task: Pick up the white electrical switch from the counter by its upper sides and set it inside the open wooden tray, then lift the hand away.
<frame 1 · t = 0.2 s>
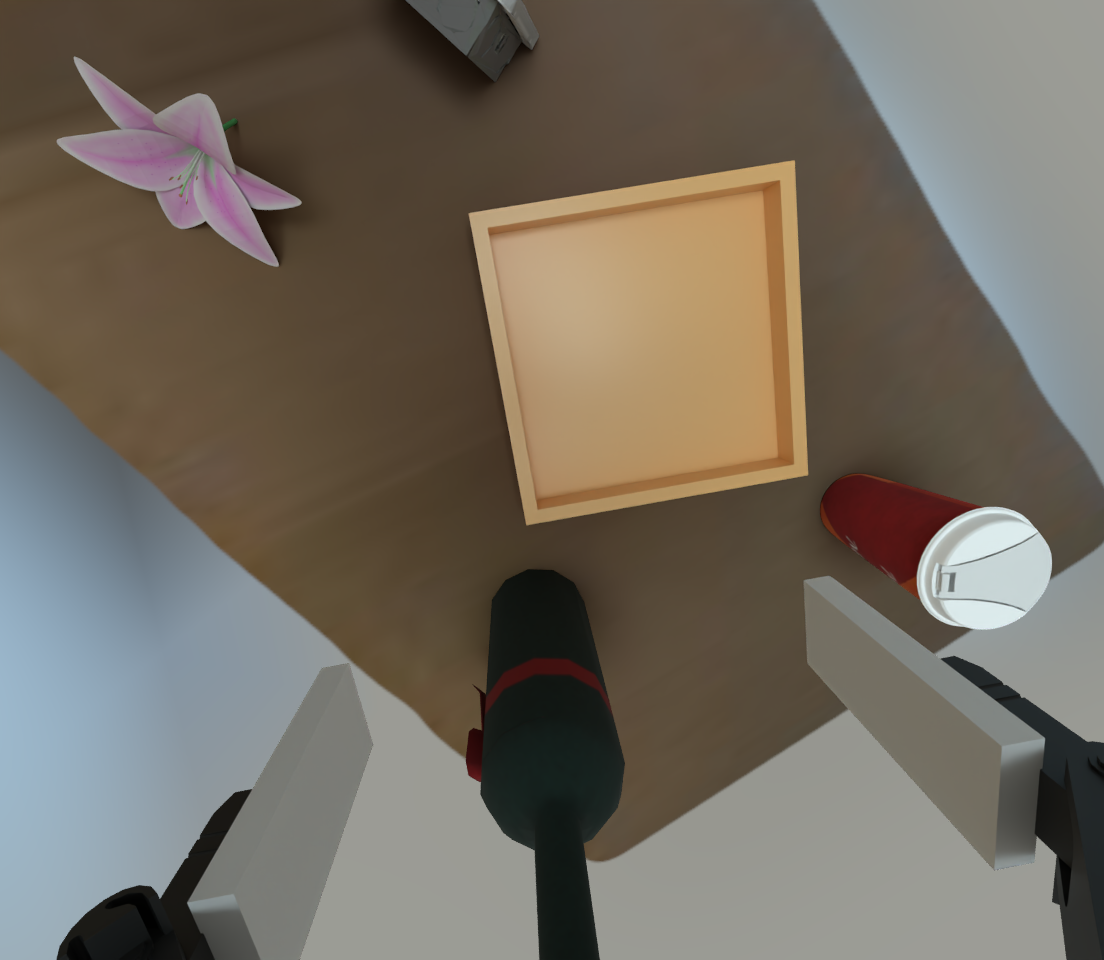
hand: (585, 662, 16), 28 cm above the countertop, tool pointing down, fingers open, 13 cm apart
lily: (229, 190, 37), on the countertop
paper cup: (851, 505, 45), on the countertop
wine bottle: (527, 619, 46), on the countertop
electrical switch: (460, 28, 35), on the countertop
wooden tray: (640, 353, 41), on the countertop
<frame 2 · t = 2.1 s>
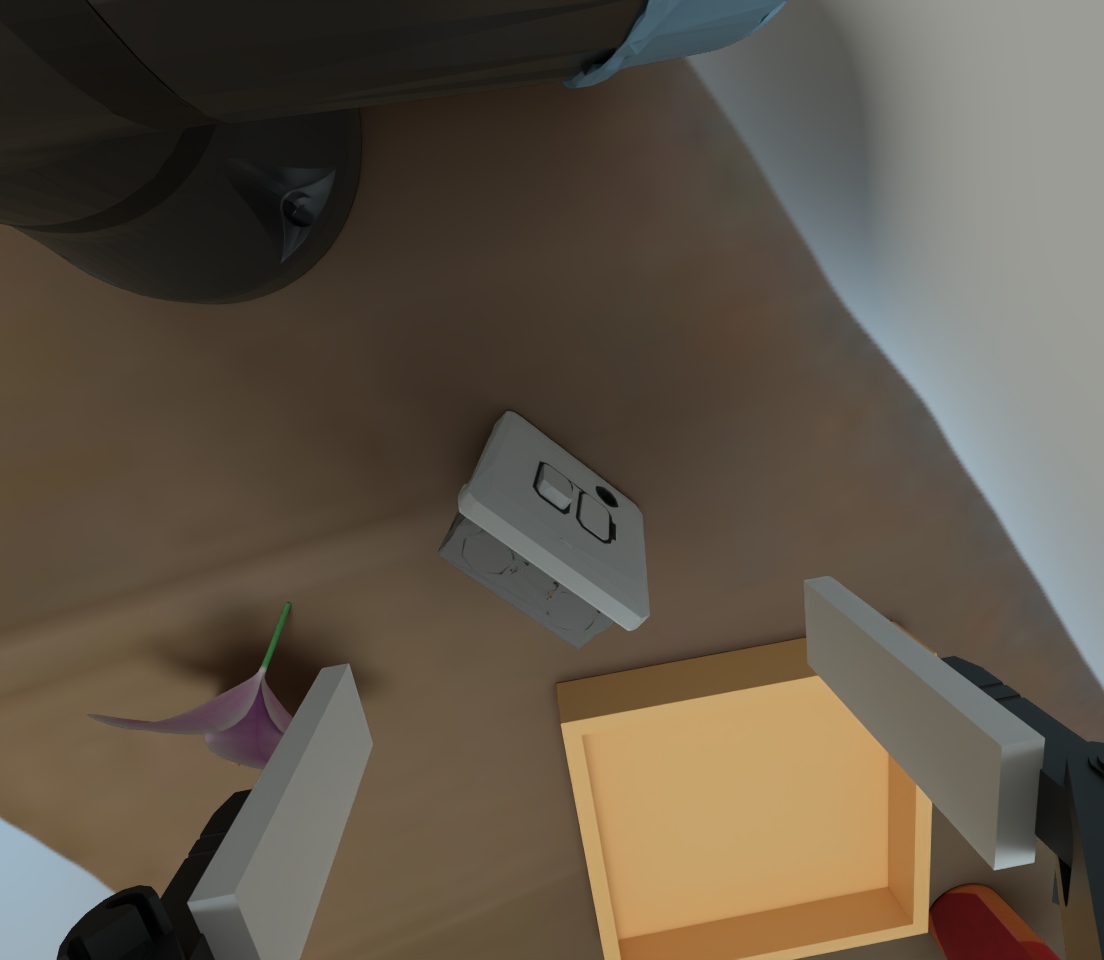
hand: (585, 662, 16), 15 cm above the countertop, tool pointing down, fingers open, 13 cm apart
lily: (280, 666, 32), on the countertop
paper cup: (961, 909, 41), on the countertop
electrical switch: (549, 498, 30), on the countertop
wooden tray: (738, 790, 36), on the countertop
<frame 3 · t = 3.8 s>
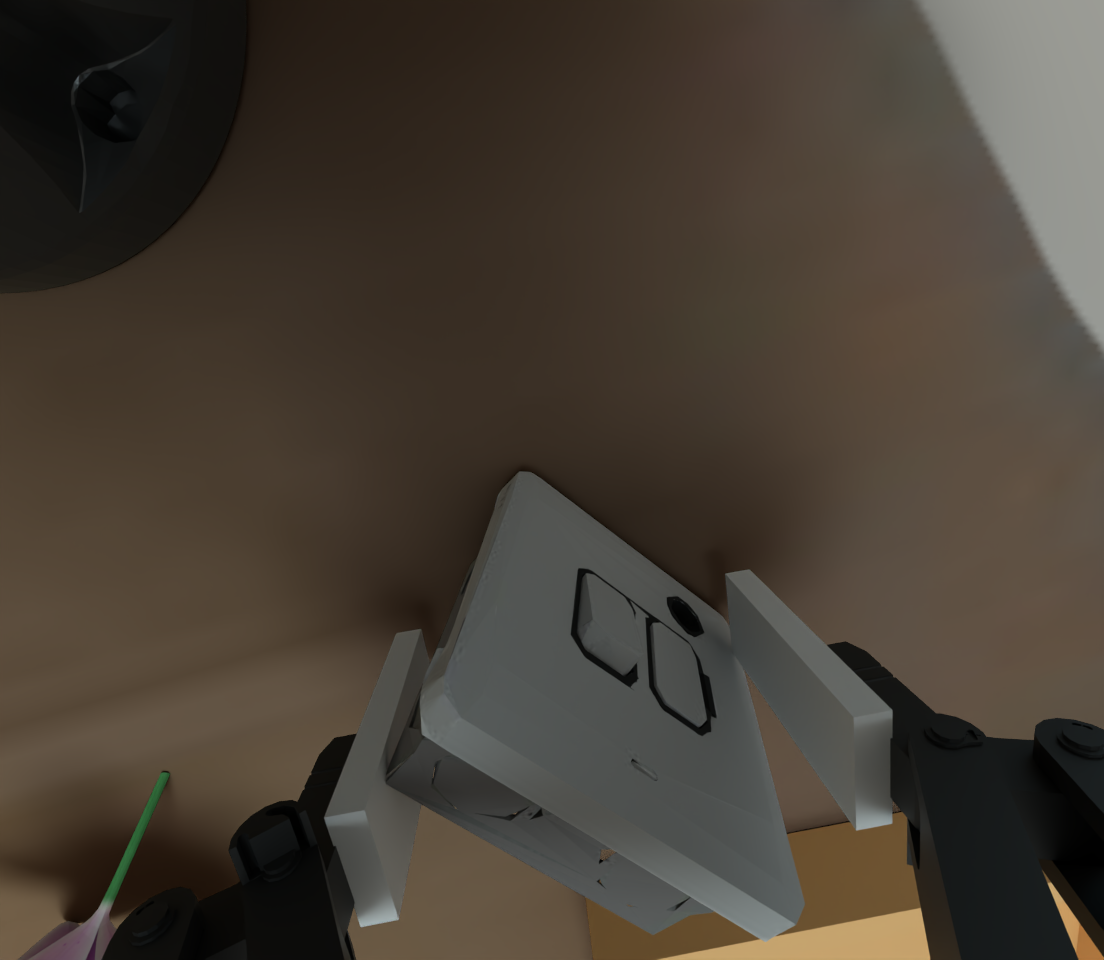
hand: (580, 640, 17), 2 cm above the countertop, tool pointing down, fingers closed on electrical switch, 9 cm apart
lily: (161, 859, 21), on the countertop
electrical switch: (583, 603, 19), on the countertop, touching gripper
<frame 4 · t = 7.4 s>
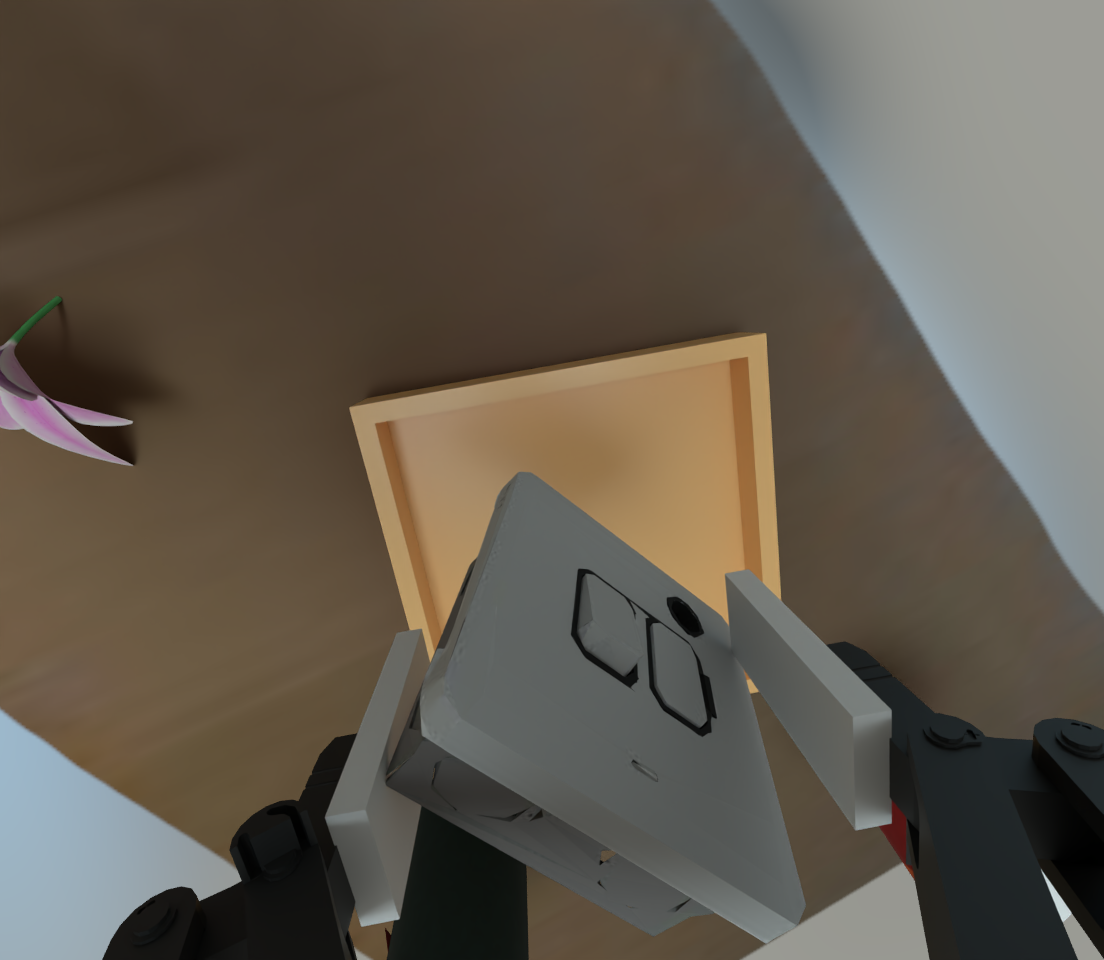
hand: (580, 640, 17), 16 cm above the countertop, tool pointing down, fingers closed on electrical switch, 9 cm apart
lily: (62, 379, 29), on the countertop
paper cup: (840, 692, 38), on the countertop
wine bottle: (458, 826, 39), on the countertop
electrical switch: (583, 604, 19), point 14 cm above the countertop, touching gripper
wooden tray: (582, 538, 34), on the countertop
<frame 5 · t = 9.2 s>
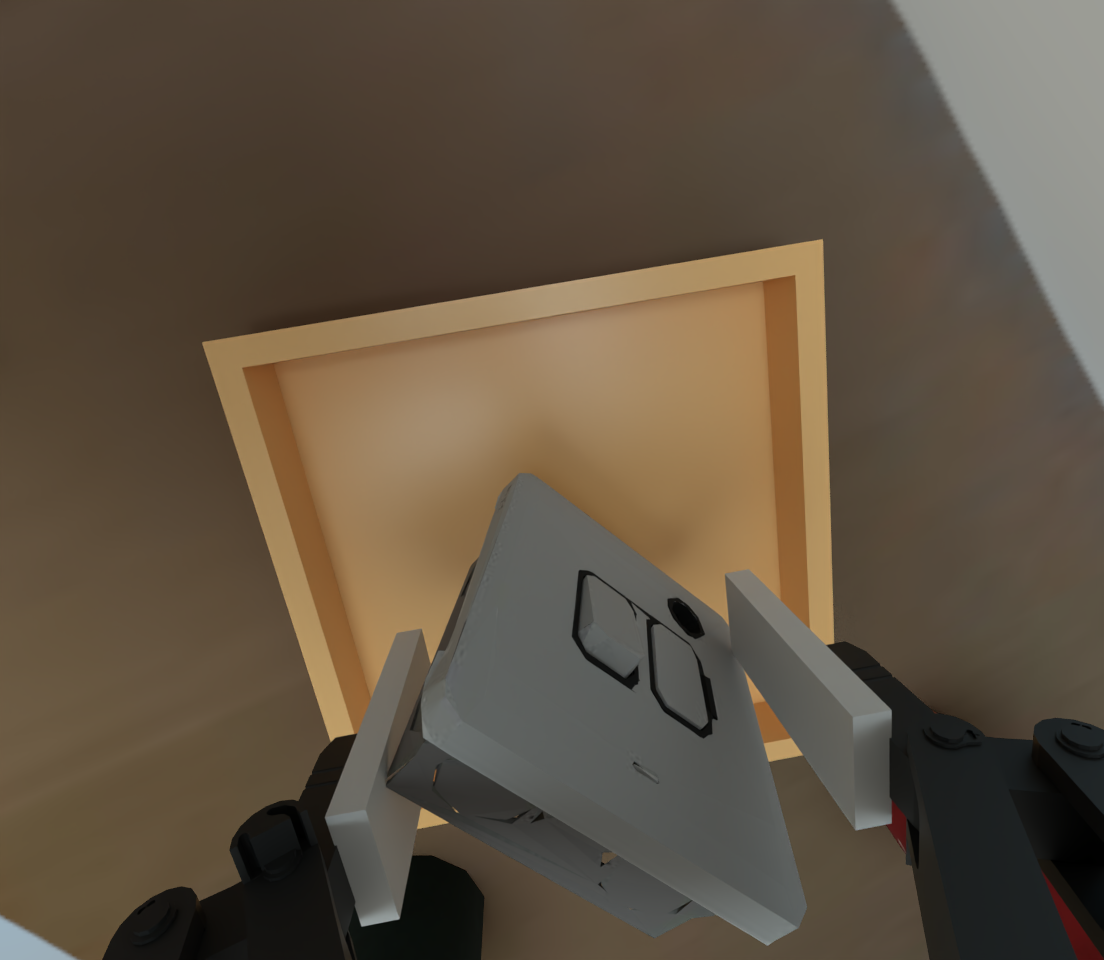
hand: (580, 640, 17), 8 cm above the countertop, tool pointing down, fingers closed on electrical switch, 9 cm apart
paper cup: (899, 748, 29), on the countertop
wine bottle: (396, 920, 30), on the countertop
electrical switch: (584, 605, 19), point 6 cm above the countertop, touching gripper
wooden tray: (557, 541, 25), on the countertop
when the fingers open (4 cm above the countertop, at t = 10.8 s): electrical switch drops 1 cm, resting on wooden tray.
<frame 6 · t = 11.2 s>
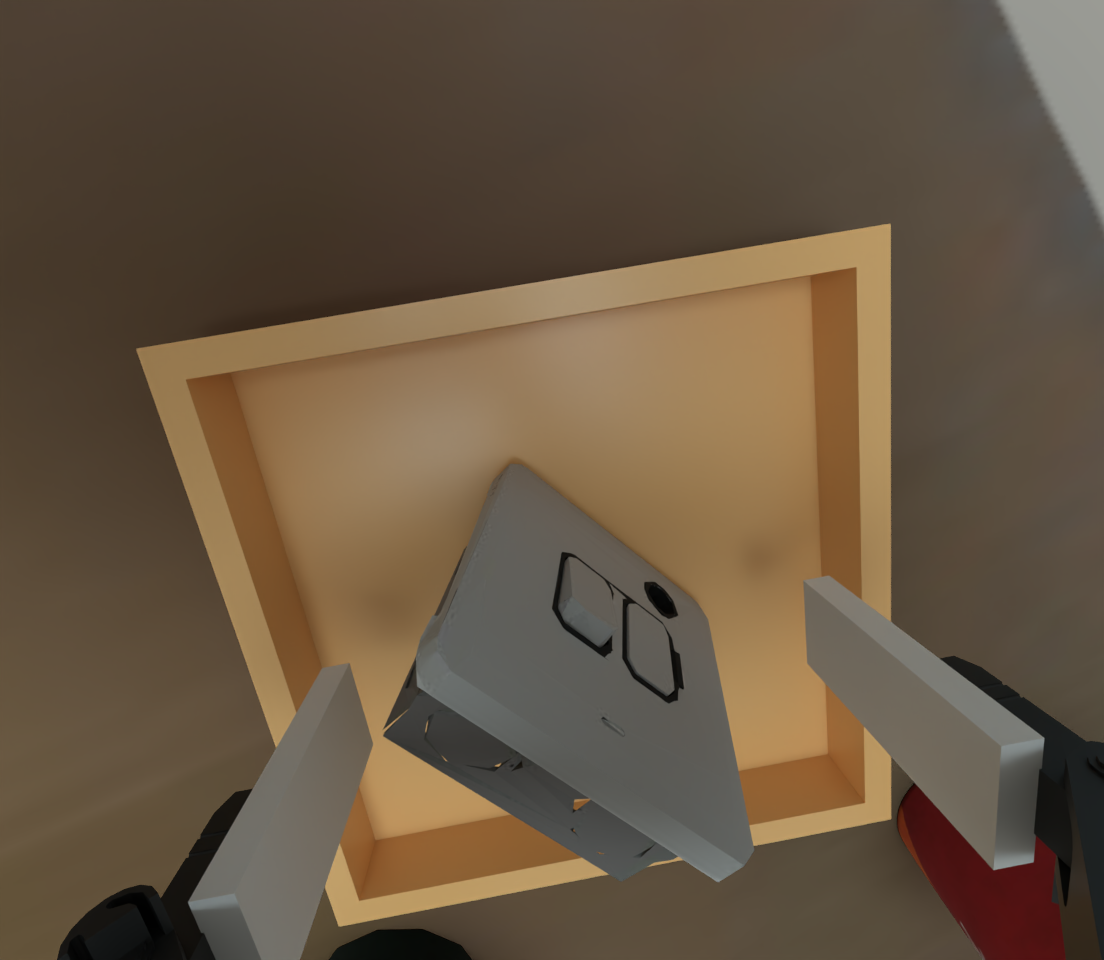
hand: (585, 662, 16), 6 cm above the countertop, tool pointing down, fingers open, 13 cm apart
paper cup: (952, 806, 26), on the countertop
electrical switch: (569, 588, 20), point 1 cm above the countertop, touching wooden tray
wooden tray: (566, 577, 21), on the countertop
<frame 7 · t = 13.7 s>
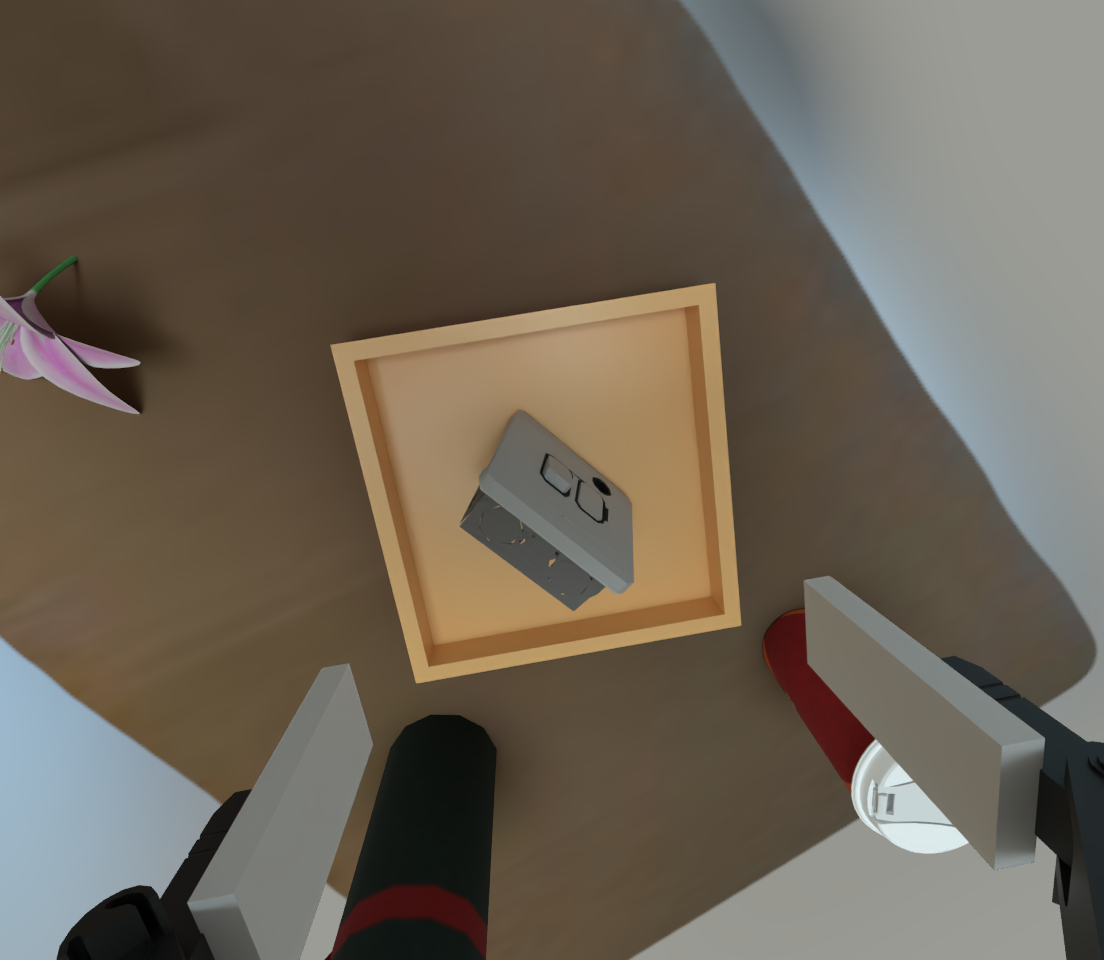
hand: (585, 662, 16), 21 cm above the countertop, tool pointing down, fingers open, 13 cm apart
lily: (77, 333, 32), on the countertop
paper cup: (798, 641, 40), on the countertop
wine bottle: (432, 767, 41), on the countertop
electrical switch: (551, 487, 35), point 1 cm above the countertop, touching wooden tray
wooden tray: (550, 483, 36), on the countertop
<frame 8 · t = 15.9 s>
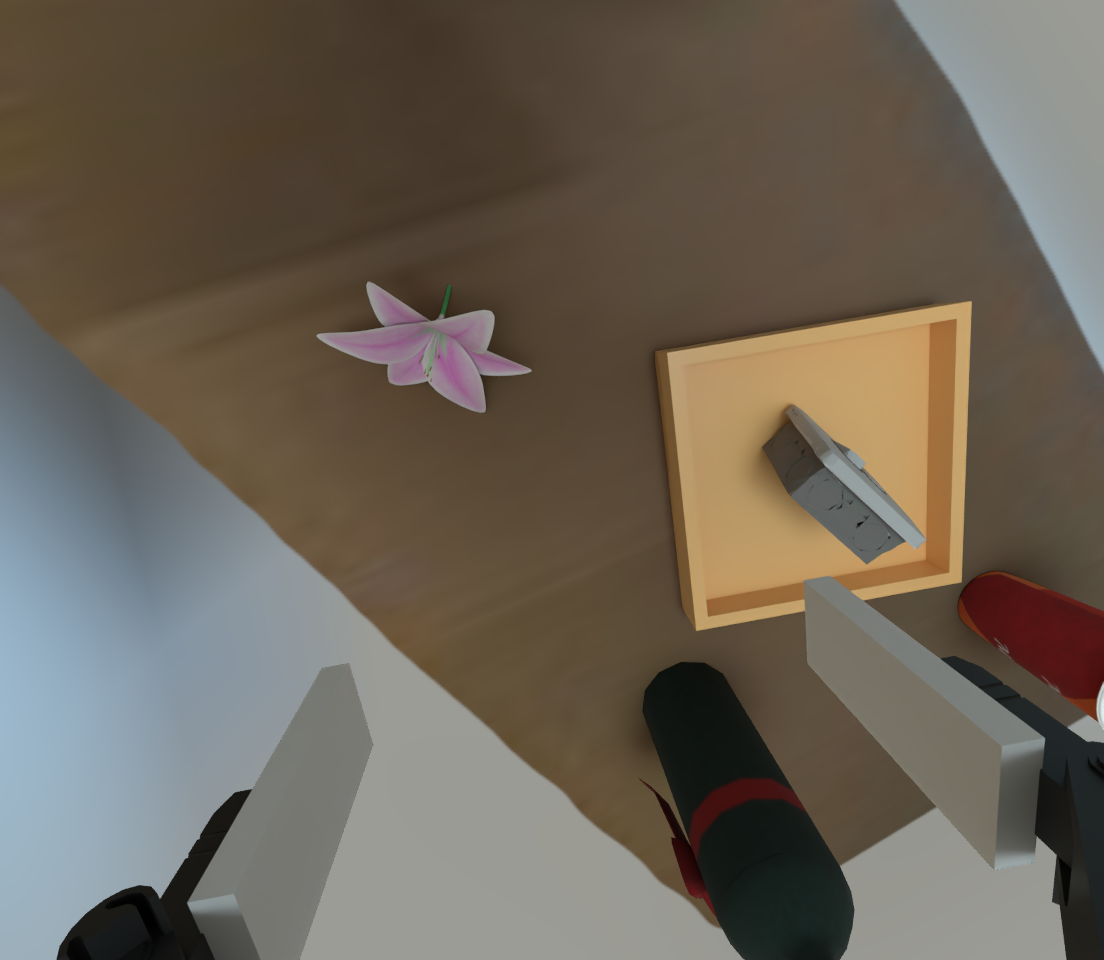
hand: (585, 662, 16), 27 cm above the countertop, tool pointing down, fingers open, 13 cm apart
lily: (440, 347, 39), on the countertop
paper cup: (987, 599, 48), on the countertop
wine bottle: (675, 707, 48), on the countertop
electrical switch: (806, 468, 42), point 1 cm above the countertop, touching wooden tray
wooden tray: (800, 465, 43), on the countertop
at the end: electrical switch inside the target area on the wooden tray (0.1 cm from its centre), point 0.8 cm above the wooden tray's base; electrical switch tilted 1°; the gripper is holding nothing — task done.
